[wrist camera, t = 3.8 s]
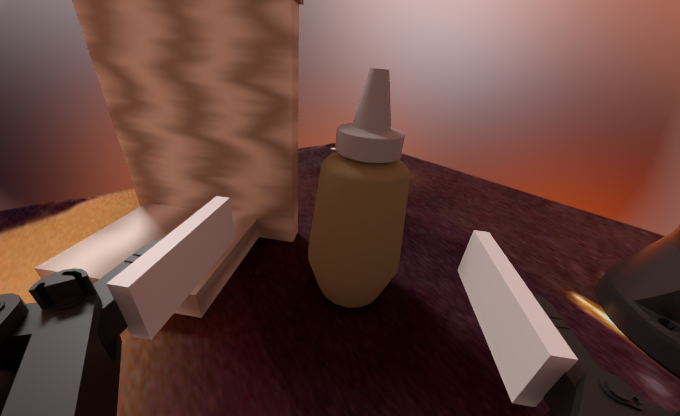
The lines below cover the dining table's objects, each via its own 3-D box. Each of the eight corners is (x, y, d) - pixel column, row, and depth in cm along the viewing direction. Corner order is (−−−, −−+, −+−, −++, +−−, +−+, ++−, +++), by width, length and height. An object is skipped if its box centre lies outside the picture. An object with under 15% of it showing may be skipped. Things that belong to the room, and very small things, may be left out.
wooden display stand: (300, 231, 31) (303, -15, 20) (255, 327, 20) (201, -133, 8) (157, 210, 32) (85, -31, 21) (34, 288, 21) (-265, -152, 10)
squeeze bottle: (396, 327, 21) (470, 77, 12) (297, 314, 21) (299, 60, 12) (388, 261, 28) (431, 74, 19) (314, 252, 28) (323, 63, 19)
